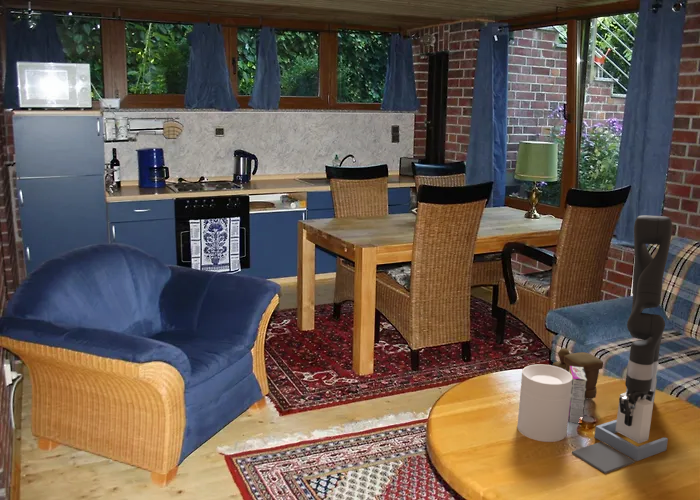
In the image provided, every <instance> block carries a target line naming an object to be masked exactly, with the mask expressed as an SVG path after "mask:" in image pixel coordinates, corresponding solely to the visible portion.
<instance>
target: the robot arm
mask: <svg viewBox="0 0 700 500" xmlns="http://www.w3.org/2000/svg"><path fill="white" fill-rule="evenodd" d="M672 234H673V223H672V219H671V218H670V217H669V216H661V215H646V214H645V215H638V216H637V217H636V219H635V222H634V226H633V238H634V239H633V240H634V241H633V245H634V246H633V249H634V261H633V271H632V273H633V274H632V304H631V305H632V306H631V313H630V315H629V317H628V319H627V323H626V326H627V327H626V328H627V330H628V332H629V333H630V336H631V337H632V338H634V339H636V340H634V341H633V342H632V343H631V344H630V349H629V350H630V351H629V359H628V362H627V368H626V377H625V383H624V384H625V387H626V390H625V393H626V392H627V393H626V396H625V397H620V396H619V397H618V398H619V399H618V403H619V402H620V412H621V413H623V414H625V420H624V423H625V424H626V425H627V426H631V425H632V418H633V416H632V415H633V412H634V410H635V408H636V402H639V401H640V399H642V400H645V399H647V400H649V401H651V402H653V403H654V402H655V395H656V390H657V382H658V378H657V373H658V366H659V357H660V350H661V349H660V348H661V343H662V338H663V334H664V331H665V327H666V322H665V319H664V317H663V316H661V315H660V314H656V313H654V314H653V313H645V312H643V311H644V310H645V309H654V308H657V307H659V306H660V304H661V299H662V298H661V297H662V289H663V280H664V274H665V269H666V265H667V262H668V255H669V251H670V246H671V240H672ZM647 245H656V246H657V245H658V249H657V252H656V254H655V255H654V256H653V257H652V255H651V254H650V252H649V250H648V248H647ZM628 401H629V402H628ZM629 403H631V404H634V405H633V406H631V405H629ZM629 408H631V410H630V411H629ZM624 409H625V410H624Z"/></svg>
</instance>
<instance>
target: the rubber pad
mask: <svg viewBox="0 0 700 500" xmlns="http://www.w3.org/2000/svg"><path fill="white" fill-rule="evenodd" d="M571 454H572V455H574V456H576V457H577V458H579V459H581V460H582V461H584V462H585V463H587V464H589V465H590V466H592V467H593V468H595V469H596V470H598V471H600V472H602V473H604V474H607V473H608V474H609V473H611V472H613V471H616V470H619V469H622V468H624V467H628V466H629V465H632V464H635V463H636V461H635V460H634V459H632V458H630V457H628V456H627V455H625V454H623V453H621V452H619V451H618V450H616V449H614V448H612V447H611V446H609V445H607V444H605V443H604V442H602V441H599V442H596V443H593V444H589V445H587V446H584V447H580V448H578V449H575V450H572V451H571Z"/></svg>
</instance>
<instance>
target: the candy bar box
mask: <svg viewBox="0 0 700 500" xmlns="http://www.w3.org/2000/svg"><path fill="white" fill-rule="evenodd" d="M569 373H570V374H571V375H572V388H571V398H570V407H569V417H568V423H570V424H579V423H578V422H579V418H580V417H583V418H584V414H585V404H586V400H585V395H586V385H587V378H586V375H585V371H584V368H583V367H577V366H575V367H574V366H569Z"/></svg>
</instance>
